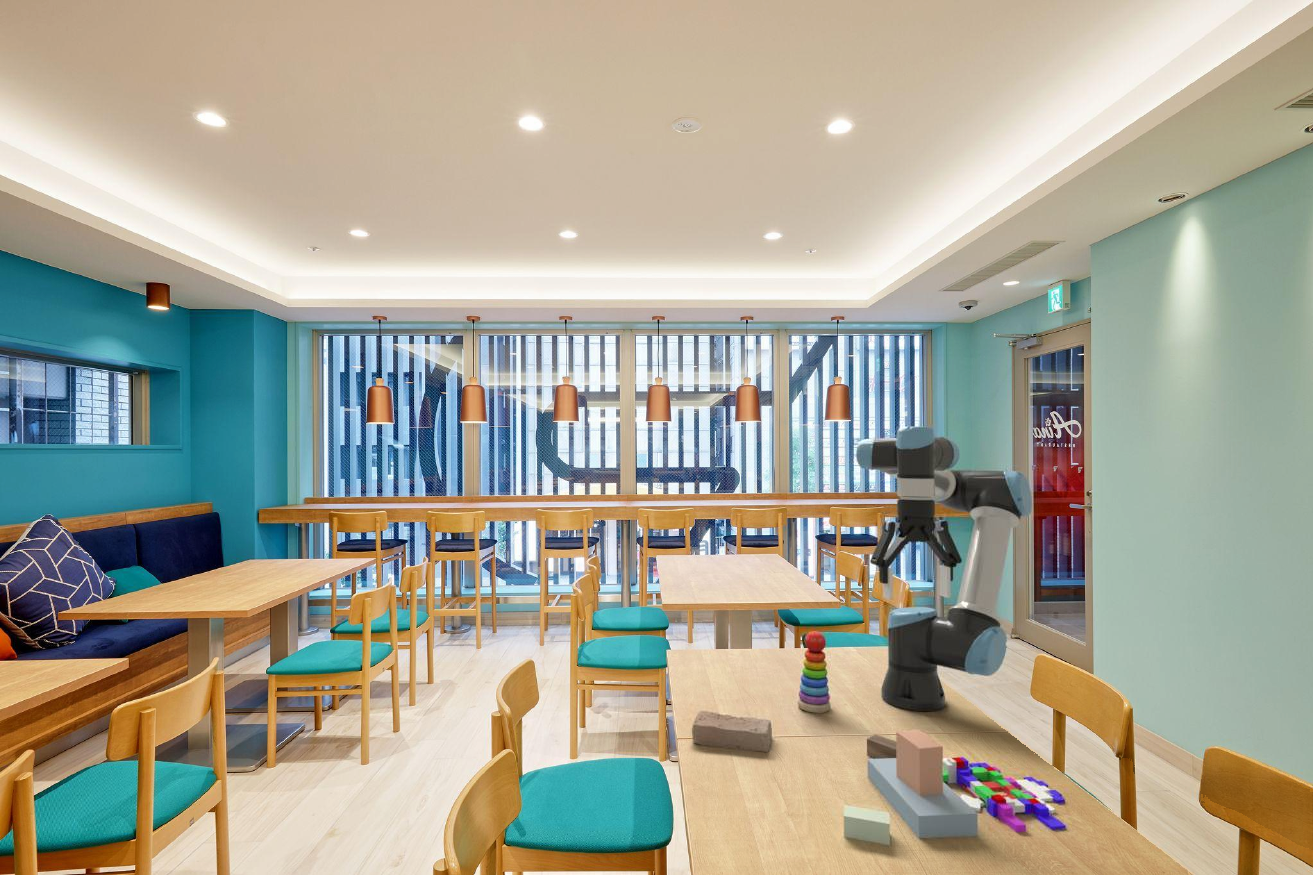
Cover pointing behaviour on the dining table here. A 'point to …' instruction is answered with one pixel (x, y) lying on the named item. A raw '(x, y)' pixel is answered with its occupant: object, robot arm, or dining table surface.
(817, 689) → the stacking toy
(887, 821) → the sage block
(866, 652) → the dining table surface
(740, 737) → the brick
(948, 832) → the base block
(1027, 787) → the building block set
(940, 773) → the terracotta block
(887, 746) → the walnut block
